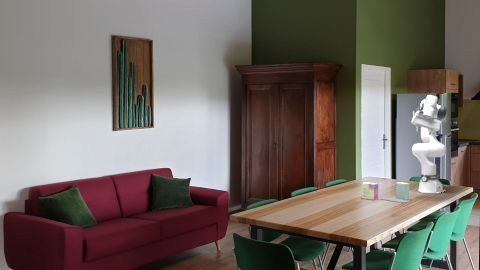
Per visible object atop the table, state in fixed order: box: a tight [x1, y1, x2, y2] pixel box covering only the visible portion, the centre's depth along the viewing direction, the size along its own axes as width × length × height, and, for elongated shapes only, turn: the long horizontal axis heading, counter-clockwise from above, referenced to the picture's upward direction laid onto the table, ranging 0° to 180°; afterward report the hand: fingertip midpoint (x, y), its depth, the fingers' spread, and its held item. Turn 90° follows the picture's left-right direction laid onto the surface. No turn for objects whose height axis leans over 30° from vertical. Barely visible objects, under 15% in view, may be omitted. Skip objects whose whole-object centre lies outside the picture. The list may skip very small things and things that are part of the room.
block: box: [395, 181, 410, 201], centre depth 384 cm, size 5×8×12 cm, turn 37°
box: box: [361, 181, 379, 201], centre depth 387 cm, size 10×6×12 cm, turn 41°
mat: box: [380, 196, 412, 204], centre depth 380 cm, size 10×20×1 cm, turn 37°
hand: (423, 133), depth 376 cm, fingers open, 8 cm apart
